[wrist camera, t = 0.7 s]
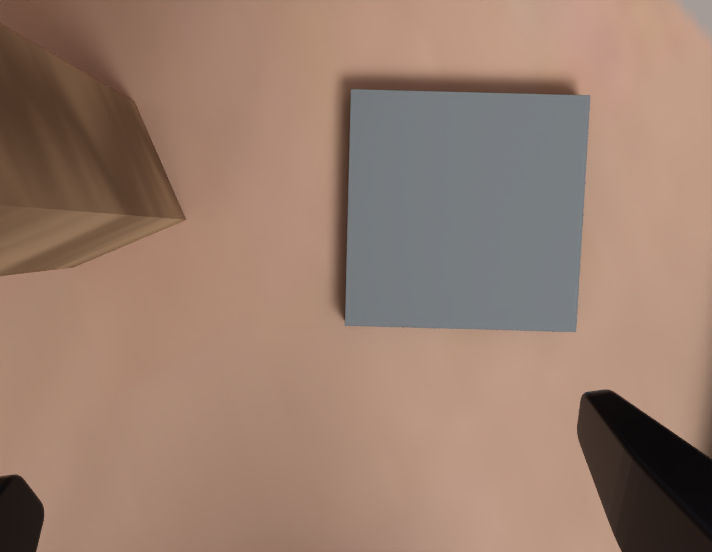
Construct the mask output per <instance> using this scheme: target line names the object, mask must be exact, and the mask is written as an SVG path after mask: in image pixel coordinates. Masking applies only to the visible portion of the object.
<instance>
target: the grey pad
mask: <svg viewBox="0 0 712 552" xmlns="http://www.w3.org/2000/svg"><path fill="white" fill-rule="evenodd" d="M589 110H590V95H555V94H516V93H477V92H437V91H398V90H359V89H351V108H350V147H349V187H348V226H347V266H346V305H345V326H378V327H414V328H450V329H486V330H522V331H558V332H576V323H577V307H578V290H579V274H580V257H581V241H582V225H583V208H584V192H585V175H586V159H587V142H588V126H589Z"/></svg>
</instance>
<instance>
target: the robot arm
mask: <svg viewBox="0 0 712 552" xmlns="http://www.w3.org/2000/svg"><path fill="white" fill-rule="evenodd" d="M577 434H578V439H579V443H580V445H581V448H582V451H583V454H584V456H585V459H586V462H587V464H588V467H589V470H590V472H591V475H592V478H593V481H594V483H595V486H596V489H597V491H598V494H599V497H600V499H601V502H602V505H603V508H604V510H605V513H606V516H607V518H608V521H609V524H610V526H611V529H612V531H613V534H614V536H615V538H616V541H617V543H618V545H619V547H620V549H621V551H622V552H712V459H711V458H709V457H708V456H706V455H705V454H703V453H702V452H701V451H699V450H698V449H696V448H695V447H693V446H692V445H690V444H689V443H688V442H686V441H685V440H683V439H682V438H680V437H679V436H677V435H676V434H674V433H673V432H672V431H670V430H669V429H667V428H666V427H664V426H663V425H661V424H660V423H659V422H657V421H656V420H654V419H653V418H651V417H650V416H648V415H647V414H646V413H644V412H643V411H641V410H640V409H638V408H637V407H635V406H634V405H632V404H631V403H630V402H628V401H627V400H625V399H624V398H622V397H621V396H619V395H618V394H617V393H615V392H613V391H611V390H598V391H591V392H586V393H584V394H583V395H582V397H581V401H580V408H579V416H578V423H577ZM43 521H44V507H43V504H42V502H41V501H40V500H39V498H38V497H37V496H36V494H35V493H34V492H33V490H32V489H31V488H30V487H29V485H28V484H27V483H26V481H25V480H24V479H23V478H22V477H21V476H19V475H7V476H0V552H36V550H37V546H38V542H39V538H40V533H41V529H42V525H43Z"/></svg>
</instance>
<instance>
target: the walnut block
mask: <svg viewBox="0 0 712 552" xmlns="http://www.w3.org/2000/svg"><path fill="white" fill-rule="evenodd" d="M184 220H186V219H185V216H184V214H183V212H182V209H181V207H180V205H179V203H178V200H177V198H176V196H175V193H174V191H173V189H172V187H171V184H170V182H169V180H168V177H167V175H166V173H165V171H164V168H163V166H162V164H161V161H160V159H159V157H158V154H157V152H156V150H155V148H154V145H153V143H152V141H151V138H150V136H149V134H148V132H147V129H146V127H145V125H144V122H143V120H142V118H141V115H140V113H139V111H138V109H137V106H136V104H135V102H134V101H132V100H130V99H129V98H127V97H125V96H124V95H122V94H120V93H119V92H117V91H115V90H113V89H112V88H110V87H108V86H107V85H105V84H103V83H101V82H100V81H98V80H96V79H95V78H93V77H91V76H89V75H88V74H86V73H84V72H83V71H81V70H79V69H77V68H76V67H74V66H72V65H71V64H69V63H67V62H66V61H64V60H62V59H60V58H59V57H57V56H55V55H54V54H52V53H50V52H48V51H47V50H45V49H43V48H42V47H40V46H38V45H36V44H35V43H33V42H31V41H30V40H28V39H26V38H25V37H23V36H21V35H19V34H18V33H16V32H14V31H13V30H11V29H9V28H7V27H6V26H4V25H2V24H1V23H0V276H4V275H12V274H21V273H29V272H38V271H46V270H55V269H63V268H72V267H75V266H77V265H80V264H82V263H85V262H87V261H89V260H92V259H94V258H96V257H99V256H101V255H104V254H106V253H108V252H111V251H113V250H115V249H118V248H120V247H123V246H125V245H127V244H130V243H132V242H134V241H137V240H139V239H142V238H144V237H146V236H149V235H151V234H153V233H156V232H158V231H161V230H163V229H165V228H168V227H170V226H172V225H175V224H177V223H180V222H182V221H184Z"/></svg>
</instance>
